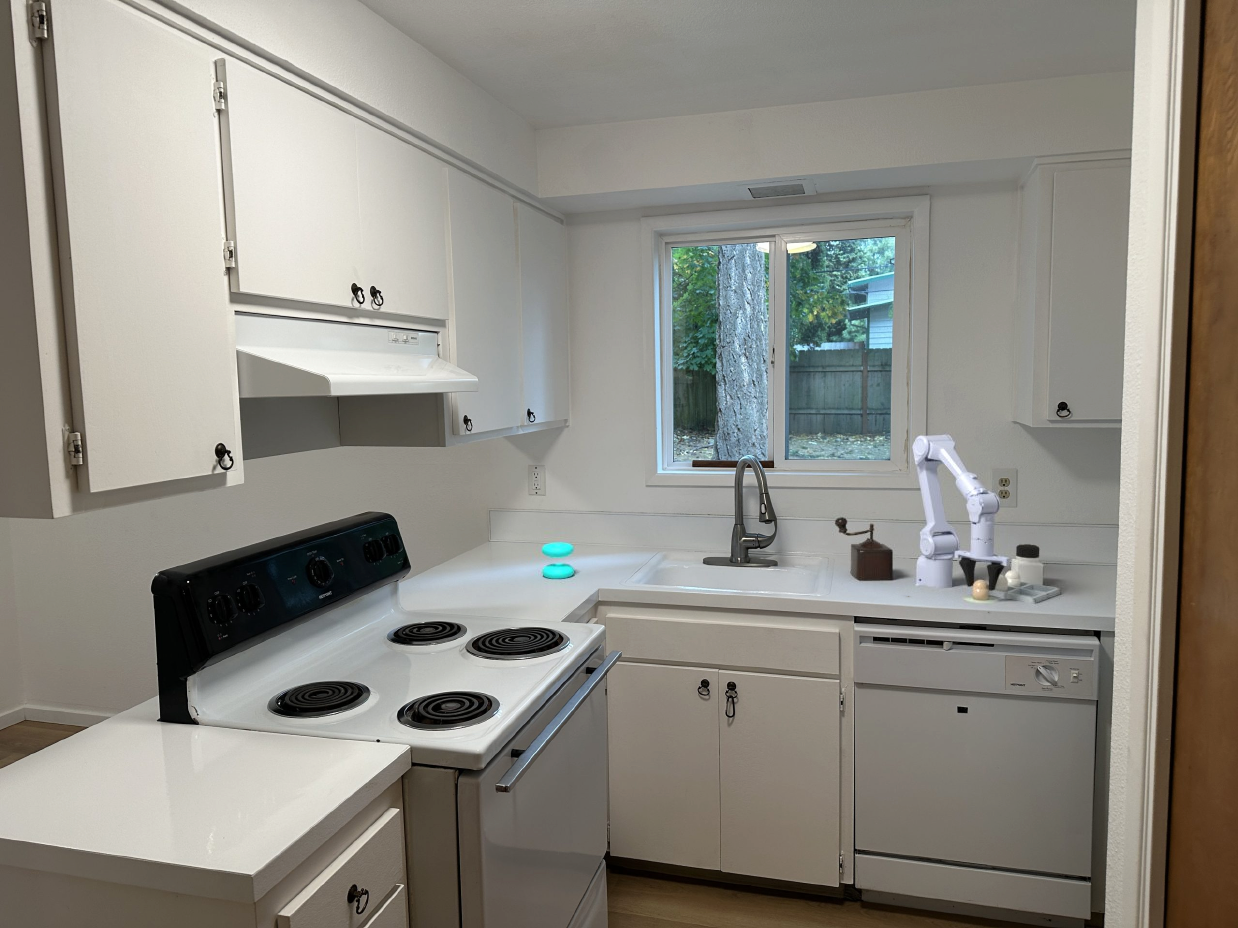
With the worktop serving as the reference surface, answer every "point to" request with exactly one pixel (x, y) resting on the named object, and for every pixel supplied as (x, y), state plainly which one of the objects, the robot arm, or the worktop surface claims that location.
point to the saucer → (970, 598)
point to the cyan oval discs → (558, 568)
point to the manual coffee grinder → (868, 556)
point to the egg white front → (1002, 584)
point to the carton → (1028, 592)
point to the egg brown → (980, 590)
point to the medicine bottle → (1028, 564)
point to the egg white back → (1013, 578)
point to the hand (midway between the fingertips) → (981, 587)
